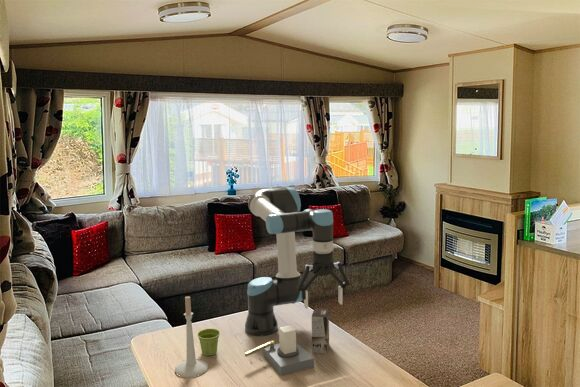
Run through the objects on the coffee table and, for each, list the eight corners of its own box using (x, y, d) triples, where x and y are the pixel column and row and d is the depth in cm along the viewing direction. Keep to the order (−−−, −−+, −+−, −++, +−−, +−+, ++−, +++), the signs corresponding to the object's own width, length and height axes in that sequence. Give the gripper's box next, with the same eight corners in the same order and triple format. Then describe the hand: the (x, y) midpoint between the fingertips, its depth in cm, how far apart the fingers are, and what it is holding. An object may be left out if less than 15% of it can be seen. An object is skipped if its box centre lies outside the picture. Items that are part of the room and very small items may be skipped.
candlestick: (188, 358, 200) (184, 288, 195) (214, 364, 194) (211, 292, 190) (167, 373, 188) (163, 299, 184) (195, 380, 183) (191, 304, 178)
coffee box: (327, 354, 201) (326, 317, 198) (311, 353, 202) (310, 316, 200) (329, 344, 210) (329, 308, 207) (314, 343, 211) (314, 307, 208)
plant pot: (224, 349, 207) (223, 329, 206) (214, 359, 198) (213, 339, 197) (205, 346, 210) (204, 327, 209) (194, 356, 201) (192, 336, 200)
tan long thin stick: (272, 342, 201) (272, 339, 200) (275, 344, 199) (275, 340, 199) (243, 355, 190) (243, 352, 190) (247, 357, 189) (247, 354, 188)
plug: (274, 358, 197) (273, 326, 195) (293, 353, 201) (292, 322, 199) (282, 367, 190) (281, 335, 188) (302, 363, 193) (301, 330, 191)
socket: (263, 356, 200) (263, 344, 200) (294, 348, 206) (294, 337, 205) (281, 376, 184) (280, 363, 183) (314, 368, 190) (313, 355, 189)
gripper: (292, 256, 176) (293, 312, 179) (358, 251, 181) (357, 305, 185) (288, 251, 183) (289, 304, 186) (351, 245, 189) (350, 298, 192)
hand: (323, 305), depth 186 cm, fingers open, 13 cm apart
